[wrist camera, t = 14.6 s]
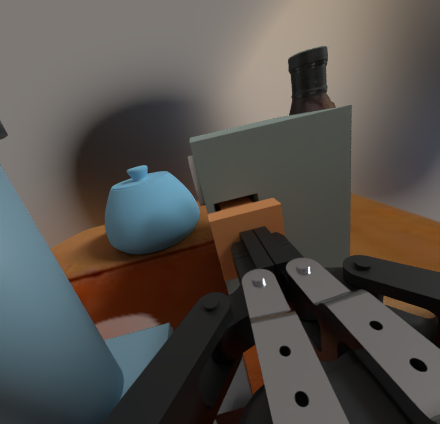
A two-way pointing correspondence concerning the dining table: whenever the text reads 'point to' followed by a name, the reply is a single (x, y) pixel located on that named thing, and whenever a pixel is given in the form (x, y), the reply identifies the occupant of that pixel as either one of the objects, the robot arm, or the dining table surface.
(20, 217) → the carriage
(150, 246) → the sugar bowl
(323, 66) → the sauce bottle
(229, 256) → the plunger
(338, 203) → the cabinet
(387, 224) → the dining table surface
